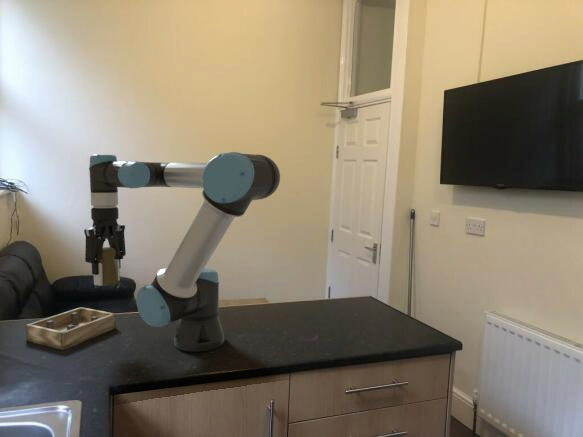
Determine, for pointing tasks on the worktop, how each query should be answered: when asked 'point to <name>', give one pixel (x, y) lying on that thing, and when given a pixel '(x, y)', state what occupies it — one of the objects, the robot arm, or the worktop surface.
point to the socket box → (70, 327)
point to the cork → (108, 266)
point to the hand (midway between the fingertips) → (107, 282)
